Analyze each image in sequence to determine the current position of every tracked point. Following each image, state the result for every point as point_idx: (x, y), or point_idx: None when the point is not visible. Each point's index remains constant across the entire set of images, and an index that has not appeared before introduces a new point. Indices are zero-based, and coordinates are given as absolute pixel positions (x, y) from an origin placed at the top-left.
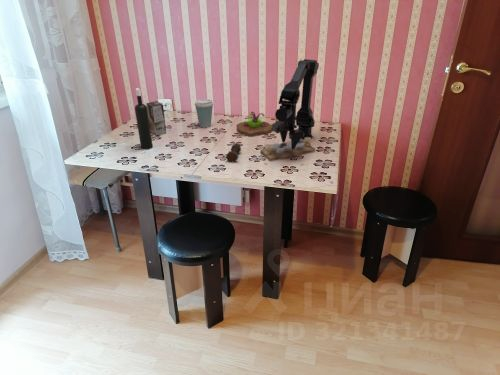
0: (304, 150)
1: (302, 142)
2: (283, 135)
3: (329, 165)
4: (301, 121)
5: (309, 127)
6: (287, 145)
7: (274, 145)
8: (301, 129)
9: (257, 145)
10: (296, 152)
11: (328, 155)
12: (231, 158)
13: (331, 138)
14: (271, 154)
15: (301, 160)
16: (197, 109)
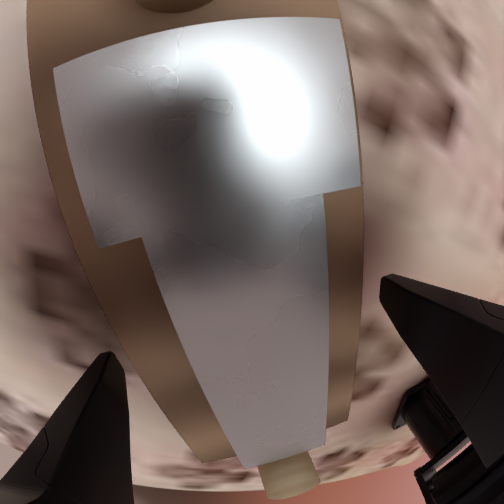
0: (180, 419)
1: (251, 460)
2: (455, 348)
3: (9, 437)
4: (476, 465)
5: (429, 456)
6: (191, 331)
7: (261, 63)
8: (450, 421)
9: (465, 41)
10: (134, 360)
11: (135, 471)
12: None
13: (334, 474)
14: (124, 14)
15: (29, 344)
16: None
